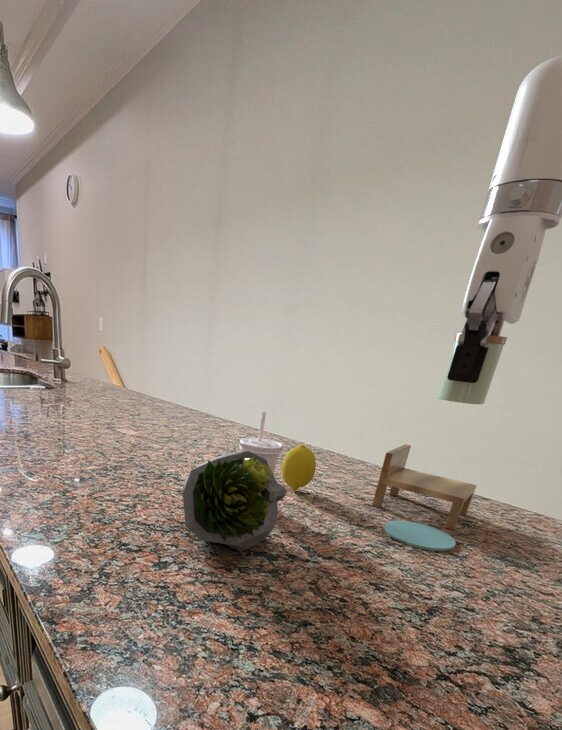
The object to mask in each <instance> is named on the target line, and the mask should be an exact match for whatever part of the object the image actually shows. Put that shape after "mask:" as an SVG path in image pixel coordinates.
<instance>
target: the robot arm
mask: <svg viewBox="0 0 562 730" xmlns="http://www.w3.org/2000/svg"><path fill="white" fill-rule="evenodd" d="M515 95H516V96H515V98H514V101H513V105H512V108H511V112H510V115H509V119H508V122H507V125H506V129H505V132H504V136H503V139H502V142H501V146H500V150H499V153H498V156H497V159H496V163H495V166H494V168H493V169H494V170H493V173H492V177H491V180H490V183H489V186H488V190H487V194H486V196H485V200H484V203H483V207H482V211H481V214H480V217H479V221H478V224H477V228H478V229H479V230H481V231H484V235H483V238H482V239H481V243H480V247H479V250H478V252H477V257H476V259H475V262H474V264H473V268H472V271H471V274H470V278H469V281H468V284H467V288H466V290H465V294H464V298H463V302H462V307H461V314H462V316H463V317H464V318H466V319H465V320H466V321H465V322H464V326H463V329H462V331H461V333H462V334H461V336H460V339H459V343H458V345H457V347H456V350H455V354H454V357H453V360H452V363H451V367H450V370H449V373H448V377H447V378H448V380H452V381H460V382H468V383H476V382H477V381H478V379H479V376H480V373H481V370H482V367H483V364H484V361H485V358H486V355H487V352H488V349H489V348H487V347H486V345H487V343H488V340H489V337H490V335H492V336H501V334H502V330H503V327H504V323H508V324H509V325H514V324H516V323H518V322H519V321H520V319H521V316H522V312H523V309H524V305H525V302H526V299H527V296H528V292H529V289H530V286H531V283H532V280H533V277H534V274H535V271H536V267H537V265H538V261H539V259H540V255H541V252H542V251H541V250H542V247H543V243H544V239H545V235H546V231H548V230H551V229H554V228H556V227H558V226H559V224H560V221H561V218H562V54H561V55H558V56H554V57H552V58H550V59H547V60H545V61H543V62H541V63H540V64H538V65H537V66H536V67H534V68H533V69H531V70H530V71H529V72H528V74H527V75H526V76H524V79H523V80H522V81H521V83H520V85H519V86H518V90H517V92H516V94H515ZM462 345H463V346H462Z"/></svg>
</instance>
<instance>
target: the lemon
mask: <svg viewBox="0 0 562 730" xmlns="http://www.w3.org/2000/svg"><path fill="white" fill-rule="evenodd" d="M316 468H317V461H316V456H315V454H314V452H313V451H312V450H311V449H309V447H307V446H306V445H305V444H300V445H298V446H295V447H293V448H290V449H289V450H288V451H287V453H286V454H285V456H284V458H283V461H282V463H281V476H282V479H283V481H284V482H285V483H286V484H287V486H289V487H290V488H291V489H292V490H293V491H297V490H298V489H300V488H304V487H306V486H307V485H309V484H310V483H311V481H312V480H313V478H314V476H315V473H316Z"/></svg>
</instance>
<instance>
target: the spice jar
mask: <svg viewBox="0 0 562 730" xmlns="http://www.w3.org/2000/svg"><path fill="white" fill-rule="evenodd" d="M461 334H462V332H461V333H457V332H456V333H455V335H454V337H453V345H452V348H451V351H450V355H449V358H448V361H447V365H446V368H445V371H444V374H443V378H442V381H441V383H440V384H441V385H440V387H439V391H438V394H437V399H439V400H442V401H448V402H452V403H453V402H454V403H460V404H467V405H484V404H485V401H486V398H487V396H488V394H489V393H488V392H489V390H490V386H491V384H492V381H493V377H494V376H495V372H496V369H497V367H498V363H499V360H500V358H501V355H502V352H503V348H504V346H505V345H506V343H507V341H508V336H502V335H500V336H492V335H490V337H489V340H488V343H487V345H486V347H487V348H489V349H488V352H487V355H486V358H485V361H484V364H483V367H482V370H481V373H480V376H479V379H478V381H477V382H476V383H468V382H460V381H452V380H448V378H447V377H448V373H449V370H450V367H451V363H452V360H453V357H454V354H455V350H456V347H457V345H458V343H459V339H460V336H461ZM462 346H463V345H462Z"/></svg>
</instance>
